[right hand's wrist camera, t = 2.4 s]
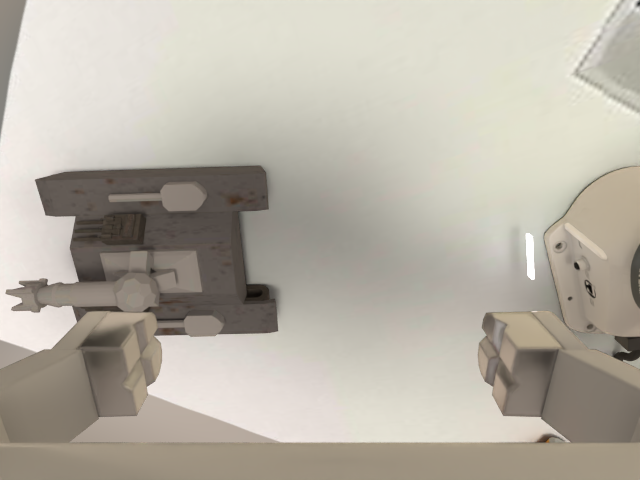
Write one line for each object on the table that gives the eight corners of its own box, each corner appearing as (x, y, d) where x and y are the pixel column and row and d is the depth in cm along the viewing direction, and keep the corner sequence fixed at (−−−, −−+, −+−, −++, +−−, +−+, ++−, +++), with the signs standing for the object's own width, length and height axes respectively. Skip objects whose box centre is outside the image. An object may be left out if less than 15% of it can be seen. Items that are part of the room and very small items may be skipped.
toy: (271, 162, 50) (249, 197, 36) (282, 310, 57) (268, 386, 43) (60, 169, 50) (-42, 206, 36) (98, 314, 58) (25, 391, 44)
